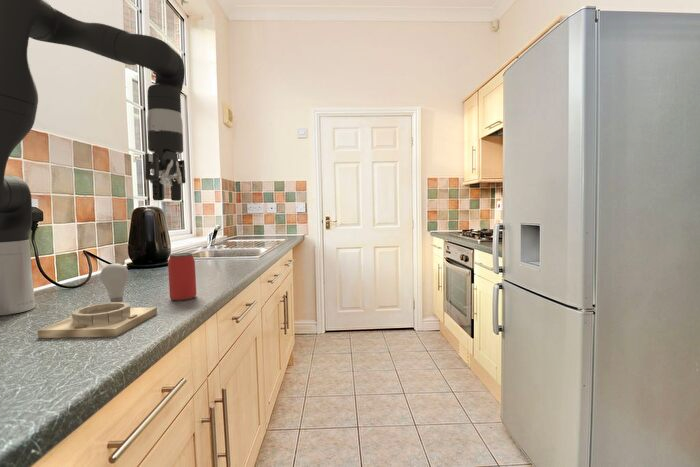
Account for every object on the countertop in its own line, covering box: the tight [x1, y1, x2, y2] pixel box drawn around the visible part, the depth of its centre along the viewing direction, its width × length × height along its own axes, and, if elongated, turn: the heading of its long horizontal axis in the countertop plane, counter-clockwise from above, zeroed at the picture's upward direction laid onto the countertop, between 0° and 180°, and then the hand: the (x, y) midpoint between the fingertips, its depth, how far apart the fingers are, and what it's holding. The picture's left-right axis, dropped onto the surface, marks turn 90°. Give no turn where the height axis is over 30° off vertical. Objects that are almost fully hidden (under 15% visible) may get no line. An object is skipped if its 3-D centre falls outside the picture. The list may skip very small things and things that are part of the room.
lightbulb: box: [99, 262, 130, 302], centre depth 92 cm, size 6×6×11 cm
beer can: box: [167, 252, 197, 302], centre depth 100 cm, size 7×7×12 cm
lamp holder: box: [37, 301, 158, 339], centre depth 78 cm, size 15×15×4 cm
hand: (167, 200), depth 89 cm, fingers open, 8 cm apart
